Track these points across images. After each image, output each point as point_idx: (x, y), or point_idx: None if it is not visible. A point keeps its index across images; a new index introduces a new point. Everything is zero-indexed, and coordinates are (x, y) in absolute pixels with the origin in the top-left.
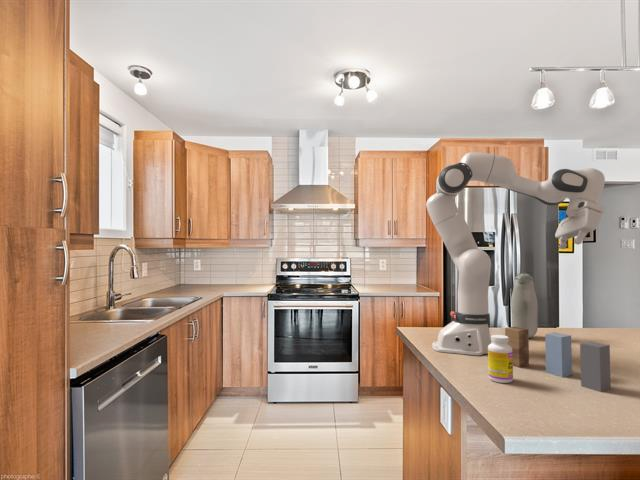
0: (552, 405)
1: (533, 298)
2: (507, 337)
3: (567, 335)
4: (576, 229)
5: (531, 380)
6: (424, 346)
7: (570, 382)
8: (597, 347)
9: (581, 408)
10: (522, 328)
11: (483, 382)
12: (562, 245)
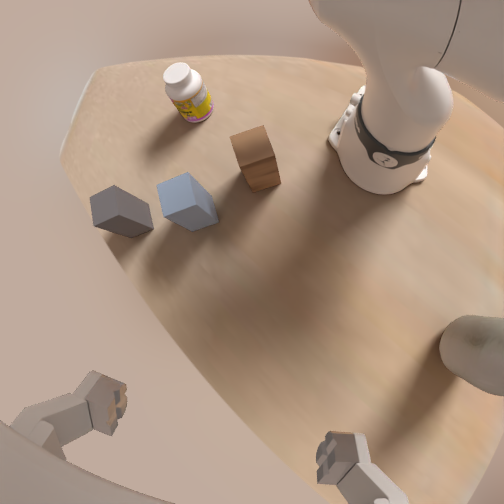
0: (116, 128)
1: (483, 372)
2: (165, 80)
3: (165, 208)
4: (48, 452)
5: (185, 149)
6: None
7: None
8: (92, 196)
9: (102, 152)
10: (250, 159)
11: None
12: (330, 446)
